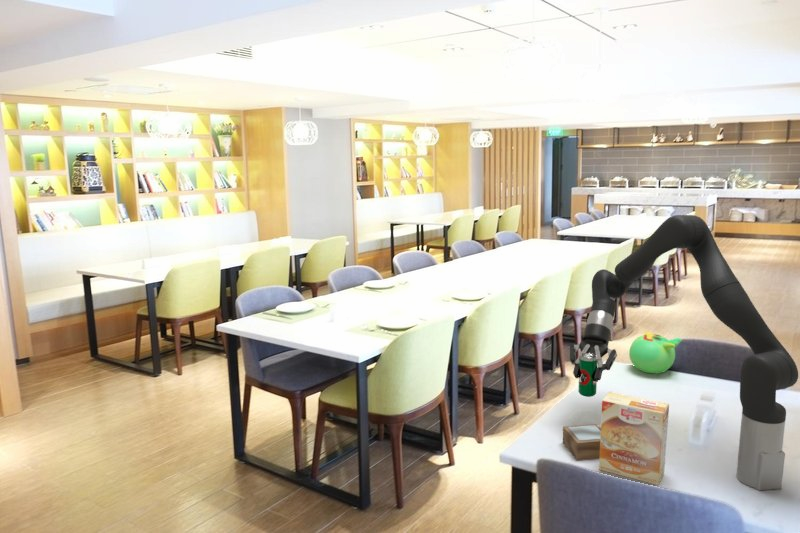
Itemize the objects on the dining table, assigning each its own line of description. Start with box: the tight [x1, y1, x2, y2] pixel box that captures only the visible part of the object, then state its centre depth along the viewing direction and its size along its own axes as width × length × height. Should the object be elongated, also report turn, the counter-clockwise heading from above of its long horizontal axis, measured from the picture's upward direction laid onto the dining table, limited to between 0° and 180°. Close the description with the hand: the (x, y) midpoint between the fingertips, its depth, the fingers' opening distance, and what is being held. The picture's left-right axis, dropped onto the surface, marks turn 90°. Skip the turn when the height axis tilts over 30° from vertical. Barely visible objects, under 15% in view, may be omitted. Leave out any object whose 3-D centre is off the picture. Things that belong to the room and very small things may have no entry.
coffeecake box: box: [598, 391, 670, 486], centre depth 156 cm, size 15×7×20 cm, turn 56°
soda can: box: [578, 353, 598, 398], centre depth 179 cm, size 5×5×12 cm
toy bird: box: [628, 331, 683, 374], centre depth 227 cm, size 18×17×15 cm
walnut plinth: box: [562, 423, 601, 461], centre depth 170 cm, size 10×10×5 cm
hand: (586, 378), depth 178 cm, fingers closed on soda can, 5 cm apart
